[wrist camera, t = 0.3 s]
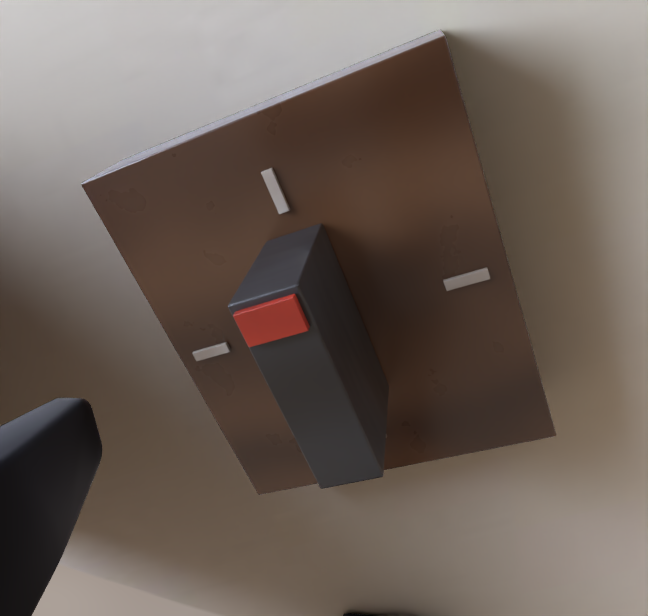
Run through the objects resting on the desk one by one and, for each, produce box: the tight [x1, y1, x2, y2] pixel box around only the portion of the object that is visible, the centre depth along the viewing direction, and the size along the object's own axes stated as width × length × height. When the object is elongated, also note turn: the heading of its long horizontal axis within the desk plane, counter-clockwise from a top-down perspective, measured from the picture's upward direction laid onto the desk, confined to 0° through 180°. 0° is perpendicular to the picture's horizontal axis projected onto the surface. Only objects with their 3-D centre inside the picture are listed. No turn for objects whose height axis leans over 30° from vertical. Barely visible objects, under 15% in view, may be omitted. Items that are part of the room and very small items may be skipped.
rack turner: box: [228, 223, 389, 489], centre depth 18 cm, size 6×2×5 cm, turn 22°
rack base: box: [81, 30, 556, 495], centre depth 21 cm, size 14×12×3 cm
